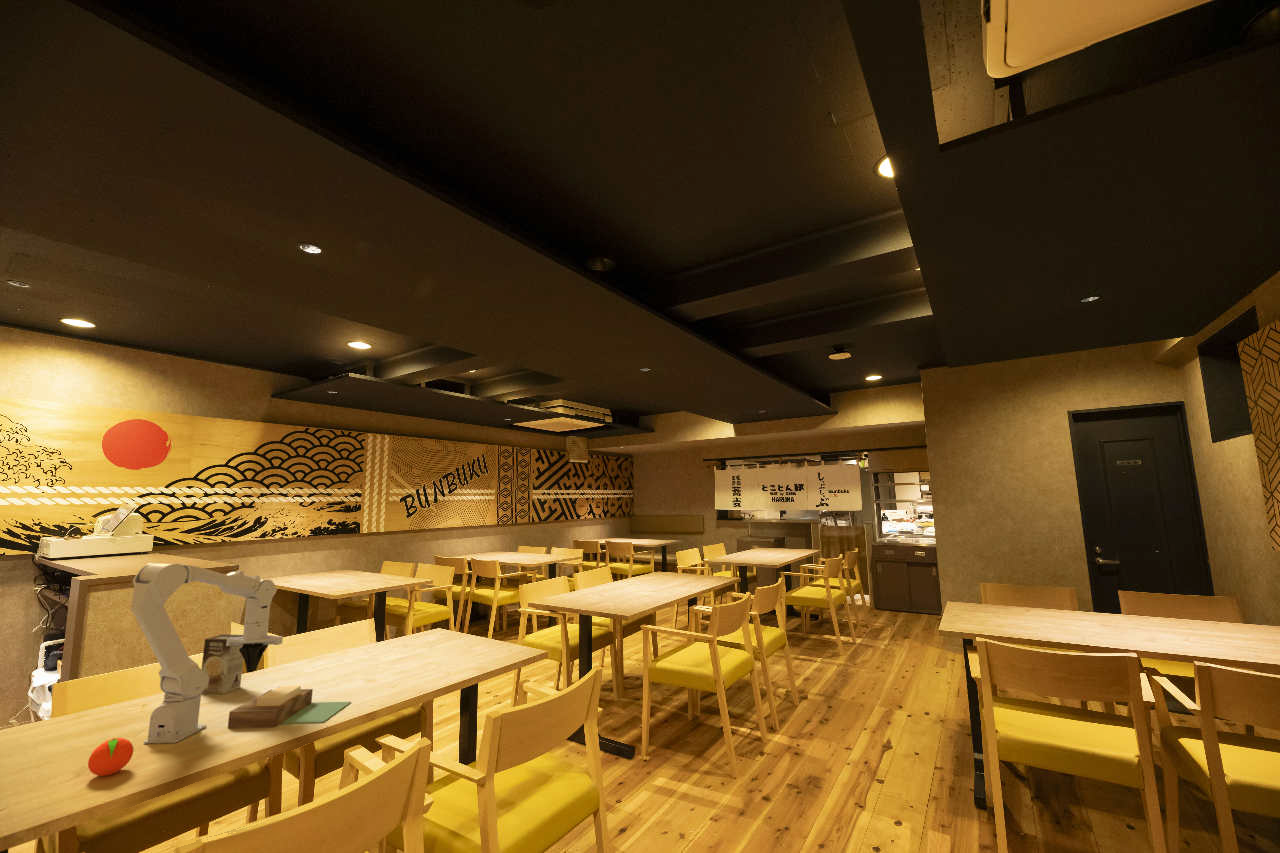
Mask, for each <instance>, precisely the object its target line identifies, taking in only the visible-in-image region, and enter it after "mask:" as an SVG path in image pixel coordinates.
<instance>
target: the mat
mask: <svg viewBox="0 0 1280 853" xmlns="http://www.w3.org/2000/svg"><path fill="white" fill-rule="evenodd" d="M351 703H352V702H351V701H323V702H321V701H319V702H318V701H317V702H316V701H315V702H313V701H312V703H311V704H309V705H308V706H306V707H305V708H303V709H302V710H300V711H298V712H297V713H295V714H294V715H292V716H291V717H289V718H287V719H286V720H284V721H283V722H281V723H280V724H281V725H282V724H283V725H285V724H287V725H288V724H289V725H291V724H292V725H294V724H324V723H325V722H326V721H328V720H329V719H331V718H332V717H334V716H335V715H336V714H337V713H339V712H340V711H342V710H343V709H344V708H345V707H347V706H349V705H350V704H351ZM341 709H342V710H341Z"/></svg>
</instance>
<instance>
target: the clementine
mask: <svg viewBox="0 0 1280 853" xmlns="http://www.w3.org/2000/svg"><path fill="white" fill-rule="evenodd" d="M133 754H134V746H133V744H132V742H131V741H130V740H128V739H126V738H123V737H118V738H112V739H109V740H106V741H104V742H103V743H100V745H98V746H97V747H96V748H95V749H94V750H93V751H92V753H91V754H90V756H89V759H88V760H87V767H88V769H89V771H90V772H91V773H92V774H93V775H95V776H97V777H98V776H100V777H105V776H110V775H113V774H115V773H117V772H119V771H120V770H122V769H123V768H125V767H126V766H127V764H128V763H129V762H130V761H131V759H132V757H133Z"/></svg>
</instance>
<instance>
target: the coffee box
mask: <svg viewBox="0 0 1280 853" xmlns="http://www.w3.org/2000/svg"><path fill="white" fill-rule="evenodd" d="M231 637H243V634H230V633H229V634H228V633H227V634H226V633H225V634H224V633H221V634H219V635H214V636H211V637H208V638H207V637H206V638H205V639H204V644H203V652H202V653H203V654H202V660H201V667H200V669H201V670H203V671H205V672H207V673H208V675H209V682H208V685H207V687H206V688H205V689H204V691H203V692H202V694H217V695H218V694H221V695H222V694H223V695H224V694H226V693H228V692H231V691H235V690H236V689H238V688H241V684H242V676H243V675H242V674H243V666H244V658H243V656H242V654H241V653H240V651H239V649H240V648H242V646H243V645H231V646H226V642H227V639H228V638H231Z"/></svg>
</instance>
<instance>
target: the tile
mask: <svg viewBox="0 0 1280 853" xmlns="http://www.w3.org/2000/svg"><path fill="white" fill-rule="evenodd" d="M301 687H302V686H301V685H291V686H290V685H288V686H287V685H286V686H285V685H284V686H282V685H281V686H280V685H279V686H277V687H276V688H273V689H271V690H272V691H270V690H269V691H270V692H268V691H267V692H268V693H266V692H265V693H266V694H264V693H263V694H264V695H262V694H261V695H262V696H260V695H259V696H260V697H258V696H257V697H258V698H257V706H280V705H281V704H283V703H285V702H286V701H288V700H290V699H291V698H293V697H295V696H297V695H298V694H300V689H302V688H301Z"/></svg>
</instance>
